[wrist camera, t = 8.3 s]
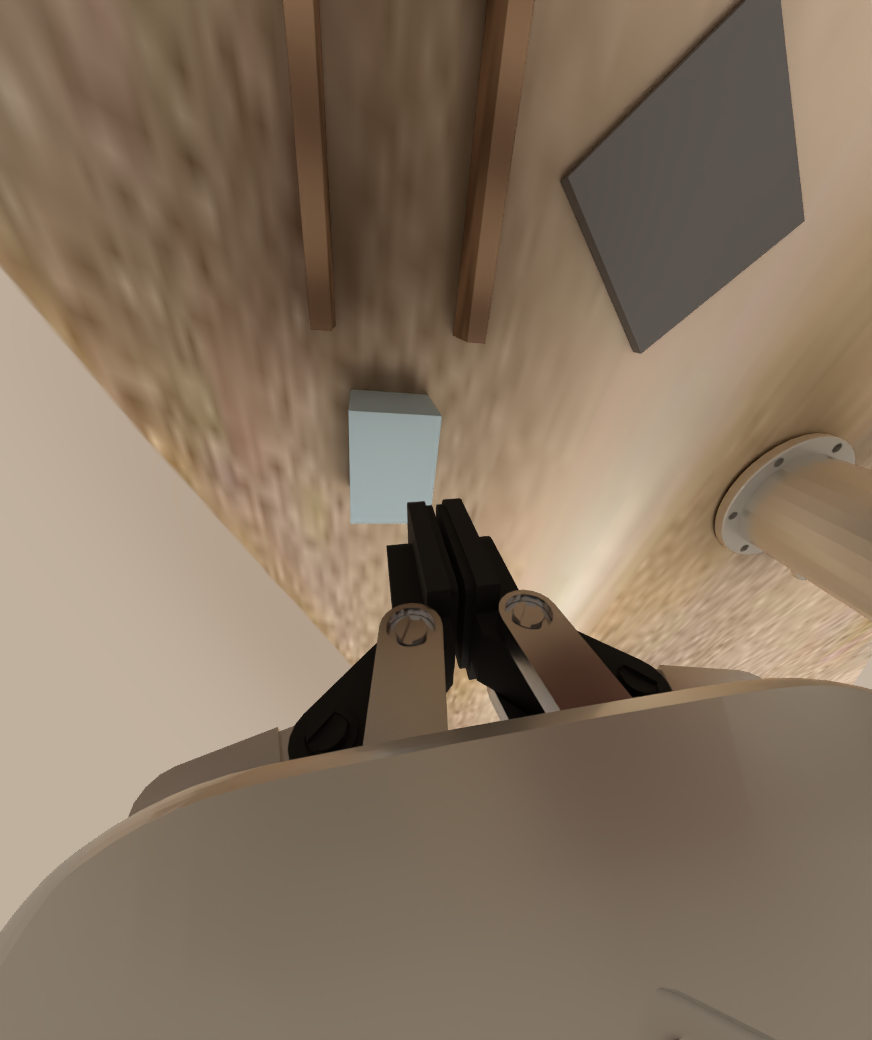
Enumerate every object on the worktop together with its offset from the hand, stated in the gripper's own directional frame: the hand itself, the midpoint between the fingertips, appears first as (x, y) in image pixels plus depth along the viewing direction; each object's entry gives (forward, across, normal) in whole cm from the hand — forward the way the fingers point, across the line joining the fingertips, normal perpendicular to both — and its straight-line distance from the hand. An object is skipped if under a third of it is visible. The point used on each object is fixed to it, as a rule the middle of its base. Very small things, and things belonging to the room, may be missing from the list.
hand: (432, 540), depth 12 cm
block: (+15, +1, +2) cm, 15 cm away
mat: (+15, -17, -11) cm, 25 cm away
